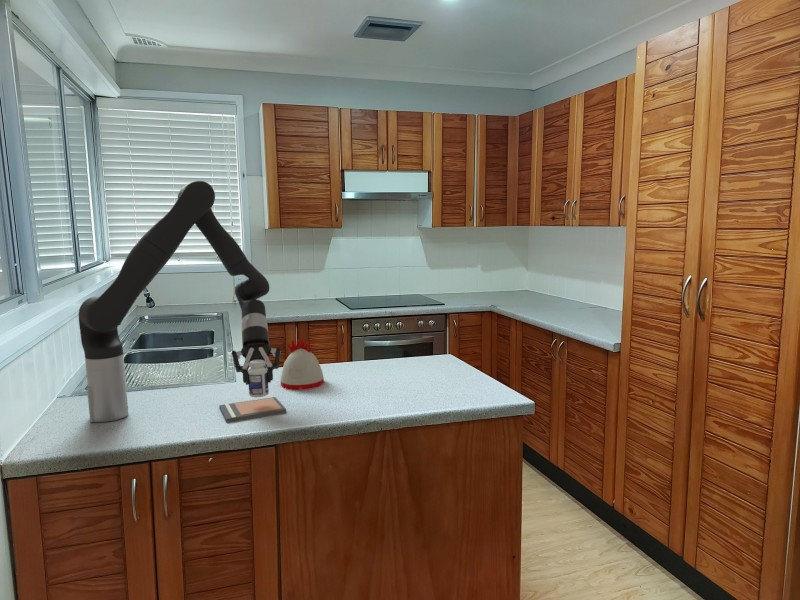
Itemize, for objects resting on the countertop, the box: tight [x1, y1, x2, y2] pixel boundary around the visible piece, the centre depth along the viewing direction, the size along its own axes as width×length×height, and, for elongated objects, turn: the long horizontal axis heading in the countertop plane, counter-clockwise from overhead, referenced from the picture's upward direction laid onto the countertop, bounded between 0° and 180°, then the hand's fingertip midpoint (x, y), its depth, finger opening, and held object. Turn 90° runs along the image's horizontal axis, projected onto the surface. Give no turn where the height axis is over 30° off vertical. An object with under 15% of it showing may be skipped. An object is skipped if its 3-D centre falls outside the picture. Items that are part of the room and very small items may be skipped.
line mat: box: [218, 396, 287, 423], centre depth 156 cm, size 16×13×1 cm
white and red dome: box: [280, 338, 325, 391], centre depth 182 cm, size 14×14×15 cm
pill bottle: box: [248, 360, 270, 398], centre depth 156 cm, size 5×5×10 cm
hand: (258, 382), depth 154 cm, fingers closed on pill bottle, 5 cm apart
